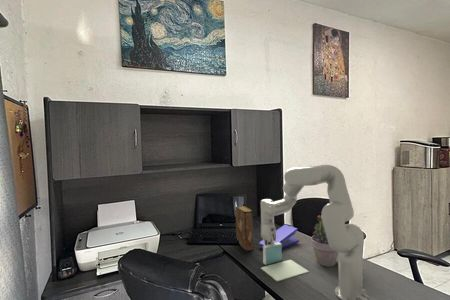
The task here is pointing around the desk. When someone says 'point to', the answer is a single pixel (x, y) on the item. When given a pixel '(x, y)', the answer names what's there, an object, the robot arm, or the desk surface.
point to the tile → (272, 253)
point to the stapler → (283, 236)
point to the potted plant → (322, 246)
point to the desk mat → (284, 270)
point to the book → (244, 227)
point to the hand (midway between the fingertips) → (268, 251)
